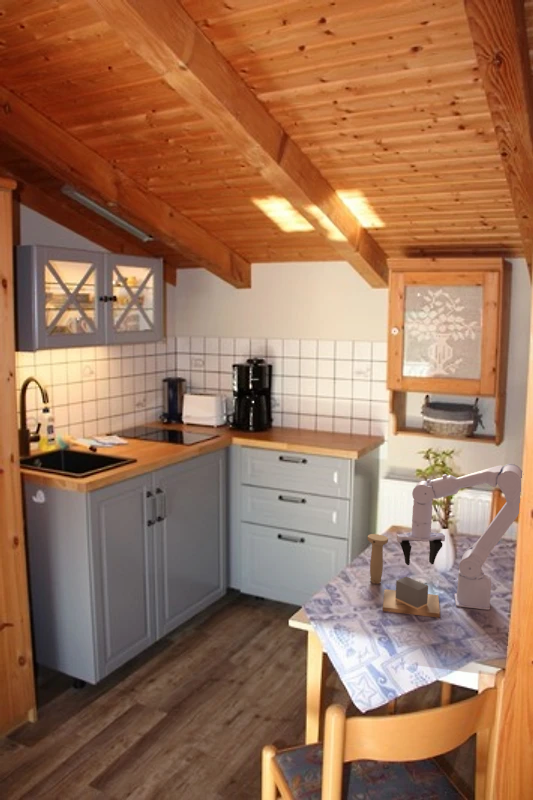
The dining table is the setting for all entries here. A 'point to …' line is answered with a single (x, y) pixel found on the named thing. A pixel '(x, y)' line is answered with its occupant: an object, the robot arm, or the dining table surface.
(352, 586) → the dining table surface
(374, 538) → the handle
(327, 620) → the dining table surface
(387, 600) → the oak board
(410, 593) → the block
